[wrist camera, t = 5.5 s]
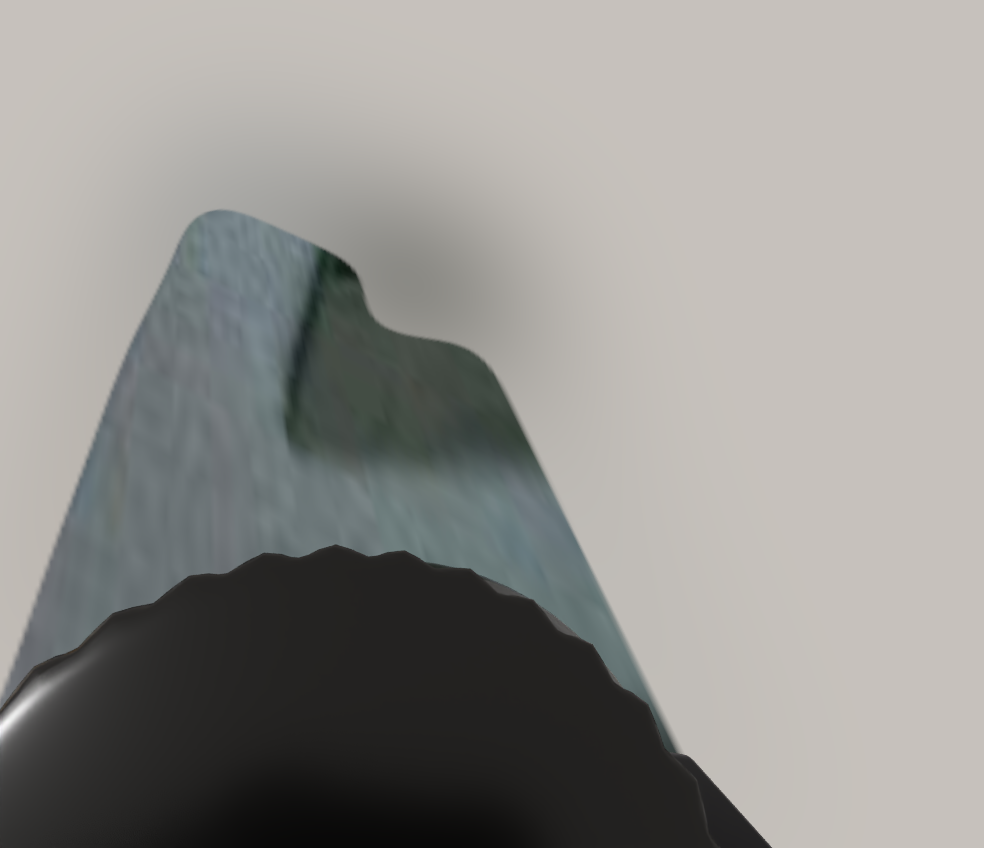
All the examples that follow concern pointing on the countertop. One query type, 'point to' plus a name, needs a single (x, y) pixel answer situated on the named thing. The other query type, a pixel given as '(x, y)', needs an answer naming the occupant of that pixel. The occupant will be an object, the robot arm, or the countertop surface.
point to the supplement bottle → (338, 722)
